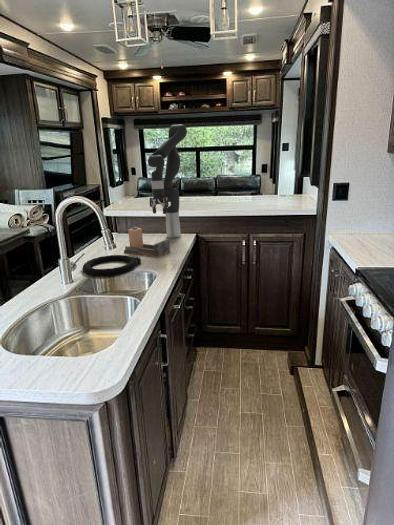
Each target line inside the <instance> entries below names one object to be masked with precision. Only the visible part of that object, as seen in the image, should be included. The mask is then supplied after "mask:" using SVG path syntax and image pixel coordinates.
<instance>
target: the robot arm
mask: <svg viewBox="0 0 394 525" xmlns="http://www.w3.org/2000/svg"><path fill="white" fill-rule="evenodd" d="M187 134H188V130H187V127H186V125H185V124H181V123H180V124H172V125H170V127H169V129H168V137H167V138H168V139H167V140H165V141H164V142H163V143H162V144H161V145H160V146H159V147H158V149H157V150H155V151H154V152H152V153H151V154H150V155H149V157H148V159H147V166H149V167H151V168H155V170H153V171H152V172H151V173H150V174H151V175H150V176H151V177H150V178H151V193H152V194H151V195H152V197H149V207H151V208H152V213H153V214H157V206H158V205H160V207H162V214H163V215H165V228H166V237H167V238H169V239H175V238H176V239H177V238H180V237H181V222H180V192H179V190H178V189H177V188H175V187H172V185H173V181H174V179H175V178H176V176H177V175H178V173H179V171H180V168H181V157H180V154H179V152H178V149H177V145H179V144H180V142H182V141H183V140H184V139H185V138H186V136H187ZM165 159H166V165H165ZM164 167H165V172H164ZM163 173H165V175H164V174H163ZM163 177H164V178H163ZM169 203H170V205H169Z"/></svg>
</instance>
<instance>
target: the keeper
mask: <svg viewBox="0 0 394 525" xmlns="http://www.w3.org/2000/svg"><path fill="white" fill-rule="evenodd" d="M128 241H129V247H137V248H143V244H144V240H143V229H142V228H141V227H138V226H132V228H130V229H128Z"/></svg>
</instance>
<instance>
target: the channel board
mask: <svg viewBox="0 0 394 525" xmlns="http://www.w3.org/2000/svg"><path fill="white" fill-rule="evenodd" d="M170 245H171V244H170V239H164V240H162V241H158V242H157V243H155V244H148V243H143V248H137V247H130V245H127V246H124V250H123V254H131V255H136V256H144V257H153V258H160V257H162V256H164V255H167V254H169V253H171V246H170Z"/></svg>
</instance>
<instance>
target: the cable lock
mask: <svg viewBox="0 0 394 525" xmlns="http://www.w3.org/2000/svg"><path fill="white" fill-rule="evenodd" d="M104 262H105V263H107V262H108V263H109V262H123V263H127V264H124V265H121V266H118V267H112V268H94V266H95V265H99V264H105V263H104ZM140 264H142V259H141V257H140V256H139V257H138V256H137V257H135V256H129V255H125V254H112V255H105V256H98V257H94V258H92V259H90V260H87V261H86V262H85V263H84V264H83V265H82V270H83V273H85V274H87V275H90V276H95V277H107V276H108V277H110V276H115V275H121V274H123V273H128V272H130V271H131V270H133V269H134V268H135V267H137V266H138V265H140ZM92 267H93V268H92Z"/></svg>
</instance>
